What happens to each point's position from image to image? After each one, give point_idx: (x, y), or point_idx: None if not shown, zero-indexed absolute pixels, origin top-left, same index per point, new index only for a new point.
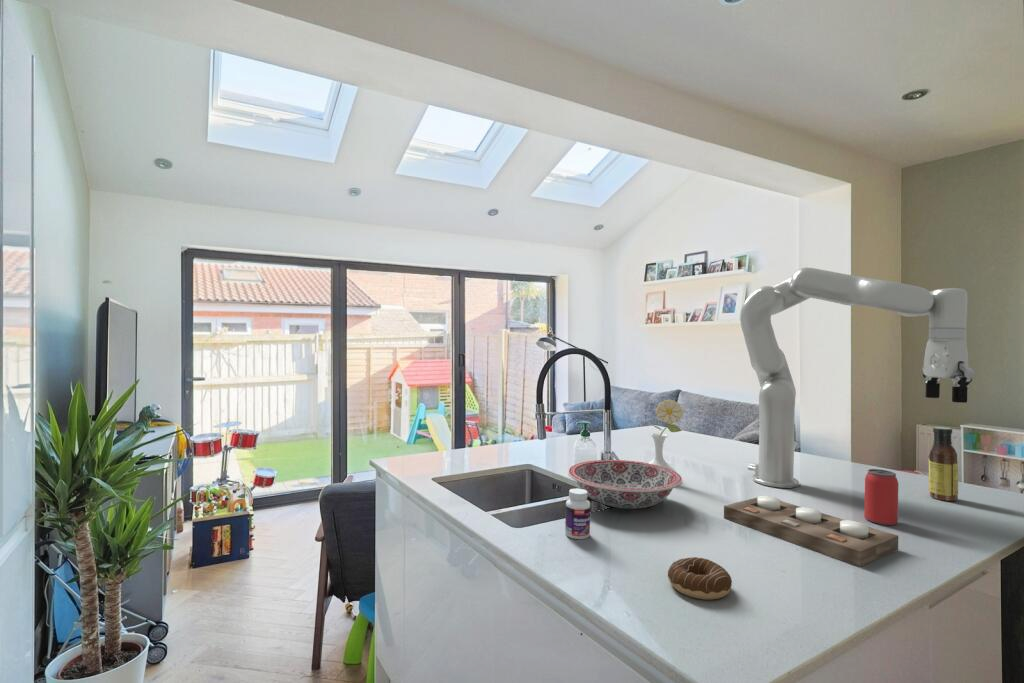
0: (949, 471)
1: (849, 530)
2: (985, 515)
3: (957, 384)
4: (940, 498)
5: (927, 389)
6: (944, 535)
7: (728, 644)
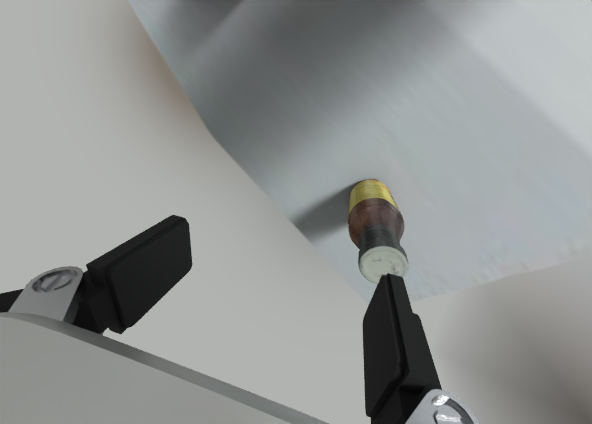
0: (350, 206)
1: None
2: (291, 183)
3: (49, 282)
4: (360, 181)
5: (395, 317)
6: (204, 28)
7: None
